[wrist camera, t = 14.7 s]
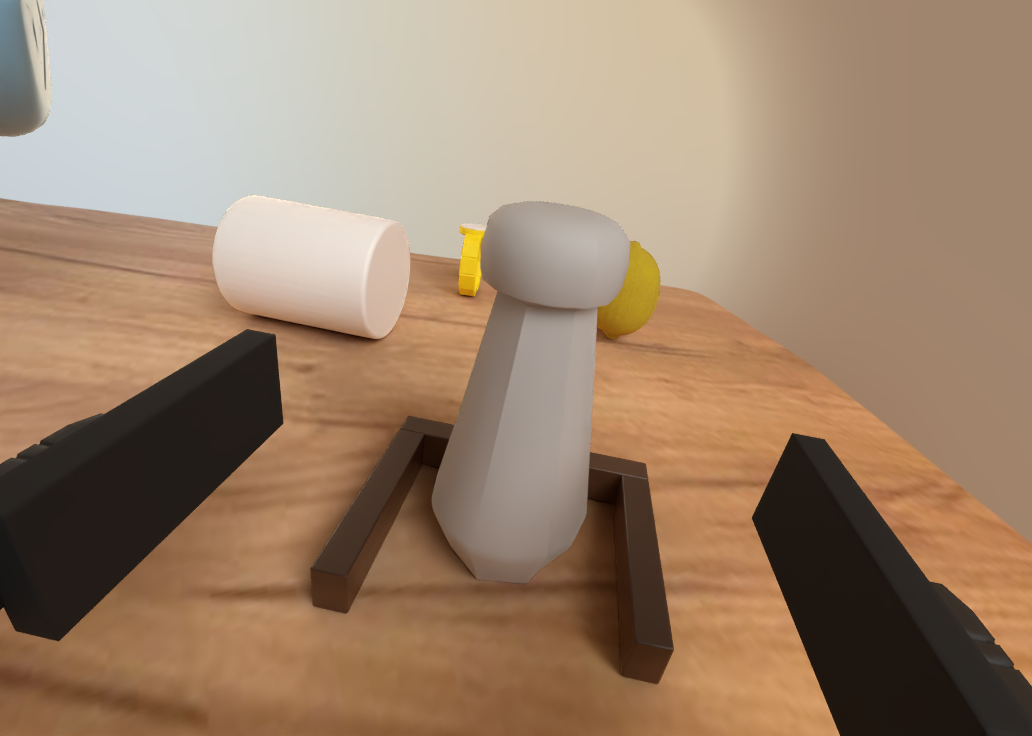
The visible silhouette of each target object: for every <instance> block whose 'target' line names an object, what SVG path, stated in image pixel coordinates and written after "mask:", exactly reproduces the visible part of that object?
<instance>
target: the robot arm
mask: <svg viewBox="0 0 1032 736" xmlns="http://www.w3.org/2000/svg"><path fill="white" fill-rule="evenodd" d="M50 104H51V77H50V62H49V51H48V40H47V30H46V22H45V14H44V6H43V0H0V136H12V137H13V136H20V135H25V134H27V133H30V132H33V131H34V130H36V129H37V128H39V127H40V126H42V125H43V124H44V123H45V121H46V119H47V117H48V115H49V111H50ZM282 424H283V414H282V403H281V392H280V380H279V369H278V358H277V347H276V336H275V334H269V333H264V332H259V331H254V330H248V329H247V330H245V331H243V332H242V333H240V334H238V335H237V336H235V337H233V338H232V339H230V340H228V341H227V342H225V343H223V344H222V345H220V346H218V347H217V348H215V349H213V350H211V351H210V352H208V353H206V354H205V355H203V356H201V357H200V358H198V359H196V360H195V361H193V362H191V363H190V364H188V365H186V366H185V367H183V368H181V369H180V370H178V371H176V372H175V373H173V374H171V375H169V376H168V377H166V378H164V379H163V380H161V381H159V382H158V383H156V384H154V385H153V386H151V387H149V388H148V389H146V390H144V391H143V392H141V393H139V394H138V395H136V396H134V397H133V398H131V399H129V400H127V401H126V402H124V403H122V404H121V405H119V406H117V407H116V408H114V409H112V410H111V411H109V412H107V413H106V414H98V415H95V416H92V417H89V418H87V419H84V420H81V421H78V422H75V423H72V424H70V425H67V426H66V427H64V428H62V429H60V430H59V431H57V432H55V433H53V434H52V435H50V436H48V437H46V438H45V439H43V440H41V441H40V444H39V445H37V444H34V445H32V446H31V447H29V448H27V449H25V450H24V451H22V452H20V453H19V454H17V457H16V458H10V459H8V460H6V461H5V462H3V463H1V464H0V610H1V609H2V608H3V607H4V609H5V611H6V613H7V615H8V617H9V619H10V621H11V623H12V625H13V627H14V629H15V631H17V632H22V633H26V634H30V635H34V636H39V637H43V638H47V639H51V640H56V641H60V640H61V639H62V638H63V637H64V636H65V635H66V634H67V633H68V632H69V631H70V630H71V629H72V628H73V627H74V626H75V625H76V624H77V623H78V622H79V621H80V620H81V619H82V618H83V617H84V616H85V615H86V614H87V613H89V612H90V611H91V610H92V609H93V608H94V607H95V606H96V605H97V604H98V603H99V602H100V601H101V600H102V599H103V598H104V597H105V596H106V595H107V594H108V593H109V592H110V591H111V590H112V589H113V588H114V587H115V586H116V585H117V584H118V583H119V582H120V581H121V580H123V579H124V578H125V577H126V576H127V575H128V574H129V573H130V572H131V571H132V570H133V569H134V568H135V567H136V566H137V565H138V564H139V563H140V562H141V561H142V560H143V559H144V558H145V557H146V556H147V555H148V554H149V553H150V552H151V551H152V550H153V549H154V548H155V547H157V546H158V545H159V544H160V543H161V542H162V541H163V540H164V539H165V538H166V537H167V536H168V535H169V534H170V533H171V532H172V531H173V530H174V529H175V528H176V527H177V526H178V525H179V524H180V523H181V522H182V521H183V520H184V519H185V518H186V517H187V516H188V515H190V514H191V513H192V512H193V511H194V510H195V509H196V508H197V507H198V506H199V505H200V504H201V503H202V502H203V501H204V500H205V499H206V498H207V497H208V496H209V495H210V494H211V493H212V492H213V491H214V490H215V489H216V488H217V487H218V486H219V485H220V484H221V483H222V482H224V481H225V480H226V479H227V478H228V477H229V476H230V475H231V474H232V473H233V472H234V471H235V470H236V469H237V468H238V467H239V466H240V465H241V464H242V463H243V462H244V461H245V460H246V459H247V458H248V457H249V456H250V455H251V454H252V453H253V452H254V451H255V450H256V449H258V448H259V447H260V446H261V445H262V444H263V443H264V442H265V441H266V440H267V439H268V438H269V437H270V436H271V435H272V434H273V433H274V432H275V431H276V430H277V429H278V428H279V427H280V426H281V425H282ZM752 520H753V522H754V525H755V527H756V530H757V532H758V535H759V537H760V539H761V542H762V544H763V547H764V549H765V552H766V554H767V557H768V559H769V562H770V564H771V567H772V569H773V571H774V574H775V576H776V579H777V581H778V584H779V586H780V589H781V591H782V594H783V596H784V599H785V601H786V603H787V606H788V608H789V611H790V613H791V616H792V618H793V621H794V623H795V626H796V628H797V631H798V633H799V635H800V638H801V640H802V643H803V645H804V648H805V650H806V653H807V655H808V658H809V660H810V663H811V665H812V667H813V670H814V672H815V675H816V677H817V680H818V682H819V685H820V687H821V690H822V692H823V695H824V697H825V699H826V702H827V704H828V707H829V709H830V712H831V714H832V717H833V719H834V722H835V724H836V727H837V729H838V731H839V734H840V736H1032V686H1031V685H1030V684H1029V682H1028V681H1027V680H1026V679H1025V677H1024V676H1023V675H1022V674H1021V672H1020V671H1019V670H1015V669H1014V667H1013V665H1014V663H1013V662H1012V661H1011V659H1010V658H1009V657H1008V656H1007V654H1006V653H1005V652H1004V650H1003V649H1002V648H1001V647H1000V645H996V644H995V643H994V641H995V639H994V638H993V636H992V635H991V634H990V633H989V631H988V630H987V629H986V627H985V626H984V625H983V624H982V622H981V621H980V620H979V619H978V617H977V616H976V615H975V613H974V612H973V611H972V610H971V609H970V608H969V607H968V606H966V605H965V604H964V603H963V602H962V601H961V600H960V599H958V598H957V597H956V596H955V595H954V594H953V593H952V592H950V591H949V590H948V589H947V588H946V587H945V586H944V585H942V584H939V583H934V582H929V580H928V579H927V578H926V576H925V575H924V574H923V572H922V571H921V569H920V568H919V567H918V565H917V564H916V563H915V561H914V560H913V559H912V557H911V556H910V555H909V553H908V552H907V551H906V549H905V548H904V546H903V545H902V544H901V542H900V541H899V540H898V538H897V537H896V536H895V534H894V533H893V532H892V530H891V529H890V527H889V526H888V525H887V523H886V522H885V521H884V519H883V518H882V517H881V515H880V514H879V513H878V511H877V510H876V509H875V507H874V506H873V504H872V503H871V502H870V500H869V499H868V498H867V496H866V495H865V494H864V492H863V491H862V490H861V488H860V487H859V485H858V484H857V483H856V481H855V480H854V479H853V477H852V476H851V475H850V473H849V472H848V471H847V469H846V468H845V467H844V465H843V464H842V462H841V461H840V460H839V458H838V457H837V456H836V454H835V453H834V452H833V450H832V449H831V448H830V446H829V445H828V443H827V442H826V441H825V439H820V438H815V437H809V436H804V435H799V434H794V433H792V435H791V437H790V439H789V441H788V443H787V445H786V447H785V449H784V451H783V454H782V456H781V458H780V460H779V462H778V464H777V466H776V468H775V470H774V472H773V474H772V477H771V479H770V481H769V483H768V485H767V487H766V489H765V491H764V493H763V495H762V497H761V500H760V502H759V504H758V506H757V508H756V510H755V512H754V514H753V516H752Z"/></svg>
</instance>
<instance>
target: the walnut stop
mask: <svg viewBox="0 0 1032 736" xmlns="http://www.w3.org/2000/svg"><path fill="white" fill-rule="evenodd" d="M453 428H454V425H452V424H447V423H442V422H437V421H432V420H427V419H422V418H417V417H412V416H408V417H407V419H406V420H405V422H404V423H403V425H402V427H401V428H400V430H399V431H398V432H397V434H396V436H395V437H394V439H393V440H392V442H391V443H390V445H389V447H388V448H387V450H386V451H385V453H384V454H383V456H382V457H381V459H380V461H379V462H378V464H377V465H376V467H375V468H374V470H373V472H372V473H371V475H370V476H369V478H368V479H367V481H366V483H365V484H364V486H363V487H362V489H361V490H360V492H359V493H358V495H357V497H356V498H355V500H354V501H353V503H352V504H351V506H350V508H349V509H348V511H347V512H346V514H345V515H344V517H343V518H342V520H341V522H340V523H339V525H338V526H337V528H336V529H335V531H334V533H333V534H332V536H331V537H330V539H329V540H328V542H327V544H326V545H325V547H324V548H323V550H322V551H321V553H320V554H319V556H318V558H317V559H316V561H315V562H314V564H313V565H312V567H311V584H312V598H313V606H316V607H320V608H324V609H329V610H333V611H337V612H342V613H347V612H348V611H349V609H350V607H351V605H352V603H353V601H354V599H355V597H356V595H357V593H358V591H359V589H360V587H361V585H362V583H363V581H364V579H365V577H366V575H367V573H368V571H369V569H370V567H371V565H372V563H373V561H374V559H375V557H376V555H377V553H378V551H379V549H380V548H381V546H382V544H383V542H384V540H385V538H386V536H387V534H388V532H389V530H390V528H391V526H392V524H393V522H394V520H395V518H396V516H397V514H398V512H399V510H400V508H401V506H402V504H403V502H404V500H405V498H406V496H407V494H408V492H409V490H410V488H411V486H412V484H413V482H414V480H415V478H416V476H417V474H418V472H419V470H420V468H421V466H422V464H423V465H428V466H433V467H438V468H440V465H441V462H442V460H443V457H444V454H445V451H446V448H447V445H448V442H449V439H450V436H451V434H452V431H453ZM587 498H588V499H593V500H598V501H602V502H607V503H612V504H613V514H614V534H615V554H616V575H617V595H618V616H619V636H620V657H621V674H622V676H623V677H627V678H632V679H636V680H641V681H645V682H649V683H654V684H658V683H659V681H660V679H661V677H662V675H663V673H664V670H665V668H666V666H667V664H668V662H669V660H670V657H671V655H672V653H673V651H674V647H673V640H672V634H671V627H670V620H669V614H668V607H667V601H666V594H665V587H664V581H663V574H662V568H661V561H660V554H659V548H658V541H657V535H656V528H655V521H654V515H653V508H652V501H651V495H650V488H649V482H648V475H647V468H646V464H645V463H641V462H636V461H631V460H626V459H621V458H616V457H611V456H606V455H601V454H596V453H591V452H590V459H589V477H588V495H587Z"/></svg>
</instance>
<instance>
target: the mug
mask: <svg viewBox="0 0 1032 736" xmlns="http://www.w3.org/2000/svg"><path fill="white" fill-rule="evenodd" d="M212 258H213V271H214V276H215V280H216V283H217V286H218V288H219V290H220V292H221V294H222V296H223V297H224V299H225V300H226V301H227V302H228V303H229V304H230V305H231V306H232V307H233V308H235V309H237V310H239V311H241V312H245V313H250V314H254V315H259V316H264V317H269V318H274V319H279V320H284V321H289V322H294V323H299V324H303V325H308V326H313V327H318V328H323V329H328V330H333V331H338V332H343V333H347V334H352V335H357V336H362V337H367V338H372V339H381V338H383V337H385V336H386V335H387V334H389V332H390V331H391V330H392V329H393V327H394V326H395V324H396V322H397V320H398V318H399V316H400V314H401V311H402V308H403V305H404V302H405V298H406V294H407V289H408V283H409V275H410V249H409V243H408V238H407V235H406V233H405V230H404V228H403V227H402V226H401V224H400V223H398V222H397V221H395V220H389V219H384V218H379V217H373V216H368V215H362V214H356V213H351V212H346V211H340V210H335V209H329V208H324V207H318V206H313V205H307V204H302V203H296V202H291V201H285V200H279V199H274V198H269V197H263V196H258V195H251V196H246V197H244V198H241V199H239V200H238V201H236V202H235V203H234V204H232V205H231V206H230V208H229V209H228V210H227V211H226V213H225V214H224V216H223V217H222V219H221V221H220V223H219V226H218V228H217V231H216V235H215V239H214V244H213V256H212Z"/></svg>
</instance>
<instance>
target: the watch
mask: <svg viewBox="0 0 1032 736" xmlns="http://www.w3.org/2000/svg"><path fill="white" fill-rule="evenodd" d="M485 230H486V226H483V225H478V224H461V226H460V233H461V234H463V235H465V239H464V242H463V248H462V254H461V260H460V269H459V294H462V295H469V296H475V294H476V292H477V290H478V288H479V284H480V280H481V274H482V273H481V269H480V261H481V244H482V240H483V237H484V233H485Z"/></svg>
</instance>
